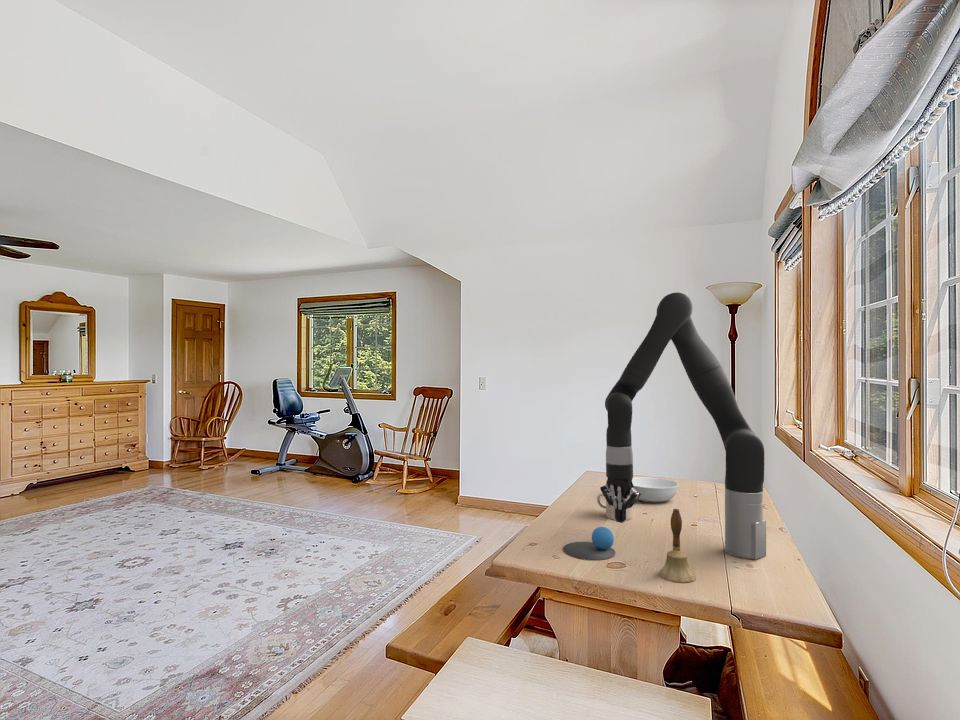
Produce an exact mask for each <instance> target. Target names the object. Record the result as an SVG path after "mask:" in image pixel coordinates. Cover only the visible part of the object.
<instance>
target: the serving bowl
mask: <svg viewBox="0 0 960 720" xmlns="http://www.w3.org/2000/svg"><path fill="white" fill-rule="evenodd" d="M632 483H633V485H634V489H635V490H636V492H640V493H641V495H640V497H639V498H638V499H637V501H638V500H639V501H640V500H642V501H641V502H644V501H647V502H646V503H653V502H655V503H661V502H665V501H666V502H667V501H669V500H672V499H673V498H674V497H675V496H676V495H677V493H678V491H679V487H680V484H679V483H678V482H677V481H674V480H672V479H671V480H670V479H666V478H660V477H649V476H635V477H634V476H633V479H632Z"/></svg>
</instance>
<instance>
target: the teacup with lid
mask: <svg viewBox="0 0 960 720" xmlns="http://www.w3.org/2000/svg"><path fill="white" fill-rule="evenodd" d="M629 495H630V494H629ZM629 495H628V499H629V497H630V496H629ZM601 497H604V495H603V493H602V492H601V493H600V494H598V495H597V498H596V501H597V504H598V506H599V507H600V508H602V509H604V510H606V511H605V515H606V517H607V518H608V519H611V520H613V519H615V508H614V507H613V506H612V505H609V504H608V502H607V500H606V499H605V502H606V504H605V505H603V504H602V503H601V501H600V499H601ZM633 506H634V505H633ZM633 506H632V507H631V508H627V509H626V520H625V521H630V520H632V519H633V518H634V517H633V516H634V515H633V514H634V512H633V511H634V510H633V509H634V507H633ZM614 521H616V519H615V520H614Z"/></svg>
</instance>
